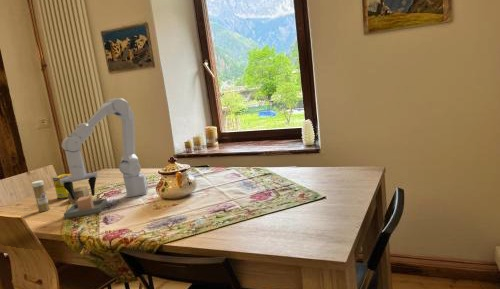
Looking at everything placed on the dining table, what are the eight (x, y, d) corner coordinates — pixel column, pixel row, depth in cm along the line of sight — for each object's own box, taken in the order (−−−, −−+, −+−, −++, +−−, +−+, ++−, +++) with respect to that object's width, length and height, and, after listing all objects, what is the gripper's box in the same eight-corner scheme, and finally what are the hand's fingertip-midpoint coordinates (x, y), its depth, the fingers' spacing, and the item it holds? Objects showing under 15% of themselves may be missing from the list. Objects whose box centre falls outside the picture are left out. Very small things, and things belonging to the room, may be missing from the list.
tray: (107, 203, 169) (106, 198, 169) (100, 212, 157) (99, 207, 157) (74, 208, 168) (73, 204, 167) (64, 218, 156) (63, 213, 156)
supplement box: (68, 198, 186) (62, 177, 184) (57, 199, 187) (52, 178, 185) (75, 194, 191) (70, 173, 189) (65, 195, 193) (60, 174, 191)
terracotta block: (94, 206, 166) (91, 195, 165) (92, 210, 161) (89, 198, 160) (81, 208, 165) (79, 197, 164) (79, 212, 160) (76, 201, 159)
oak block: (89, 196, 186) (87, 186, 185) (85, 200, 179) (82, 190, 178) (74, 198, 185) (72, 188, 184) (69, 203, 178) (67, 193, 177)
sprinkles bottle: (44, 212, 169) (36, 182, 167) (36, 212, 171) (28, 183, 168) (52, 208, 174) (45, 179, 171) (44, 208, 175) (37, 180, 173)
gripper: (96, 160, 164) (103, 190, 167) (60, 167, 161) (67, 197, 164) (93, 163, 157) (100, 195, 160) (55, 170, 155) (63, 202, 157)
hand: (83, 196), depth 161 cm, fingers open, 7 cm apart
